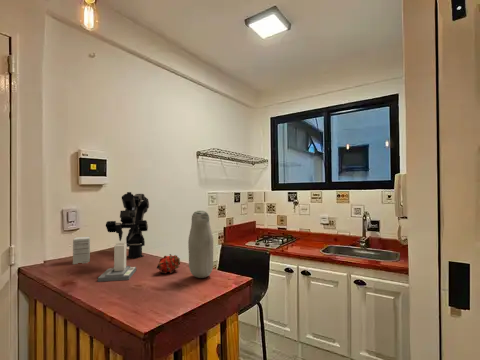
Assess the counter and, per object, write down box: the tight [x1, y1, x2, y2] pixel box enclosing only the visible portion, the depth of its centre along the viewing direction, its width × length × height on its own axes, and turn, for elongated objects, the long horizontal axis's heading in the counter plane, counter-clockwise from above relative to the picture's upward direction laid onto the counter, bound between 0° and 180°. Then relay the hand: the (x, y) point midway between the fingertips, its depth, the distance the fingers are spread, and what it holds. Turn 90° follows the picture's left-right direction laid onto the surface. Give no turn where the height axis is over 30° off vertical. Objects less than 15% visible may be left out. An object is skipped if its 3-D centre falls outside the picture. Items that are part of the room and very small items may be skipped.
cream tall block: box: [113, 242, 127, 271], centre depth 122 cm, size 4×4×12 cm
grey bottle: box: [187, 210, 214, 279], centre depth 116 cm, size 10×10×28 cm
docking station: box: [97, 265, 137, 283], centre depth 118 cm, size 14×12×2 cm
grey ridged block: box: [72, 236, 91, 265], centre depth 142 cm, size 7×7×13 cm
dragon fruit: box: [156, 253, 181, 274], centre depth 122 cm, size 8×8×12 cm
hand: (124, 240), depth 128 cm, fingers open, 3 cm apart
